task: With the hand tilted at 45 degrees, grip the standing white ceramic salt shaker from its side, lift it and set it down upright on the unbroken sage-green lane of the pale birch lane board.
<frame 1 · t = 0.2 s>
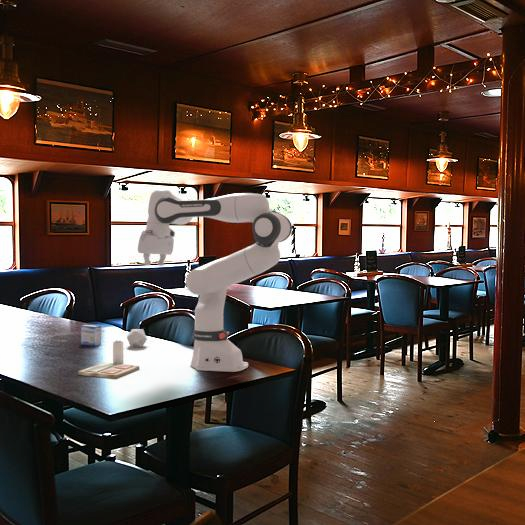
hand: (154, 265, 250), 38 cm above the table, tool pointing down, fingers open, 8 cm apart
medicine box: (91, 344, 287), on the table
lane board: (109, 371, 233), on the table
die: (137, 347, 282), on the table
salt shaker: (118, 363, 247), on the table
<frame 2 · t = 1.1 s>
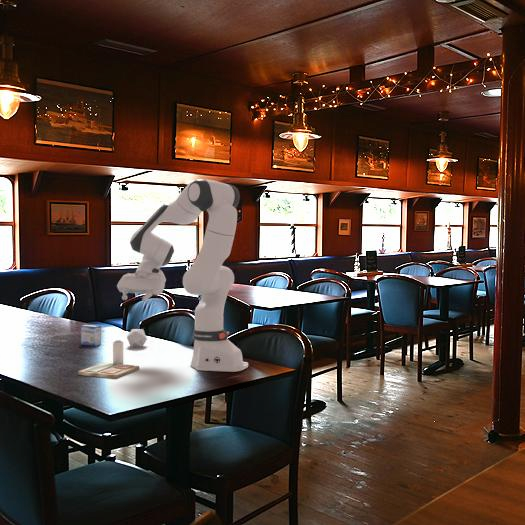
hand: (134, 299, 258), 24 cm above the table, tool tilted 45°, fingers open, 8 cm apart
nothing on the table moved.
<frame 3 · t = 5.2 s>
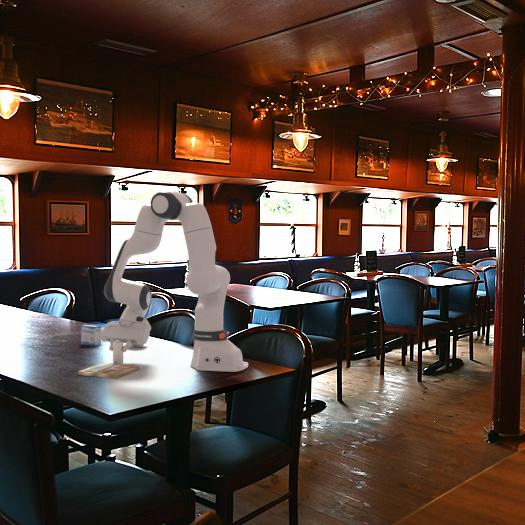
hand: (117, 350, 247), 5 cm above the table, tool tilted 45°, fingers closed on salt shaker, 4 cm apart
salt shaker: (118, 363, 247), on the table, touching gripper
everything else where it was.
when the fingers open (8 cm above the table, at t = 9.6 s): salt shaker drops 1 cm, resting on lane board.
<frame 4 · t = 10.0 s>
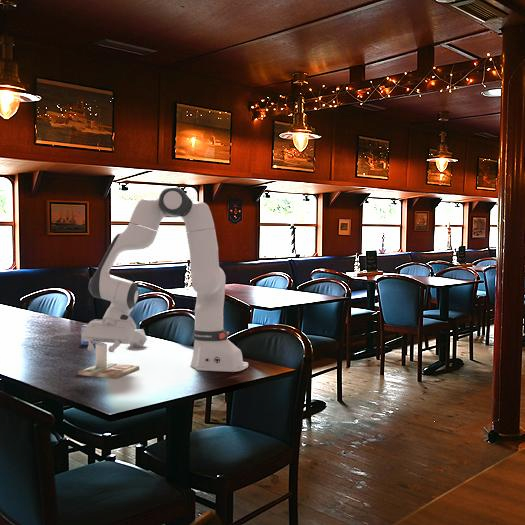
hand: (100, 350, 233), 8 cm above the table, tool tilted 45°, fingers open, 8 cm apart
salt shaker: (101, 367, 234), point 2 cm above the table, touching lane board
everything else where it was.
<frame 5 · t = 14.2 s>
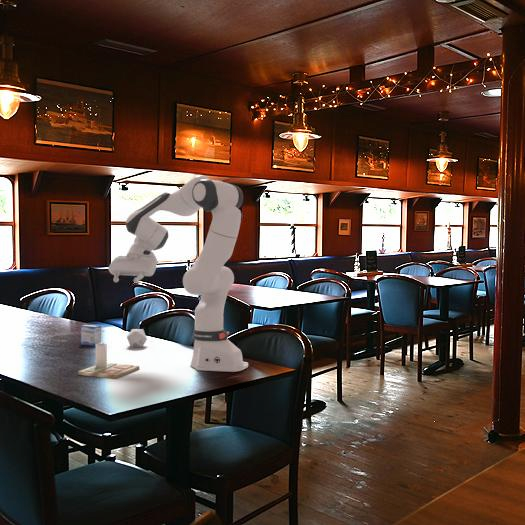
hand: (125, 281, 257), 31 cm above the table, tool tilted 45°, fingers open, 8 cm apart
nothing on the table moved.
at the end: salt shaker inside the target area on the lane board (0.2 cm from its centre), point 1.5 cm above the lane board's base; salt shaker tilted 0°; the gripper is holding nothing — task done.
